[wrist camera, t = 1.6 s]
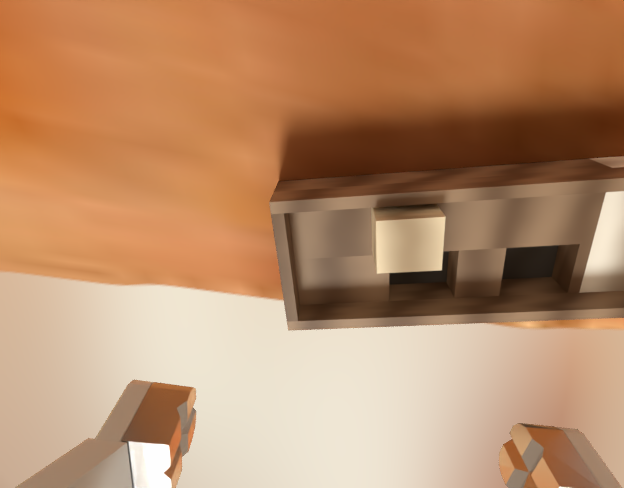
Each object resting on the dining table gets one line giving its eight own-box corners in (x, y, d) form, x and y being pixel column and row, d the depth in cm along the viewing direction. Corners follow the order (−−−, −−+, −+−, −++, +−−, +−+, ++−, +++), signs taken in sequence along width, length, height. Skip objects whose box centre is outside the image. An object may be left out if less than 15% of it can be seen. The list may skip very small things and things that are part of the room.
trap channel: (698, 150, 31) (767, 168, 26) (651, 279, 36) (701, 314, 31) (278, 181, 34) (269, 202, 29) (294, 296, 39) (288, 330, 34)
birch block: (432, 198, 31) (445, 216, 27) (429, 247, 33) (441, 270, 29) (371, 202, 31) (375, 221, 28) (372, 250, 33) (376, 273, 30)
